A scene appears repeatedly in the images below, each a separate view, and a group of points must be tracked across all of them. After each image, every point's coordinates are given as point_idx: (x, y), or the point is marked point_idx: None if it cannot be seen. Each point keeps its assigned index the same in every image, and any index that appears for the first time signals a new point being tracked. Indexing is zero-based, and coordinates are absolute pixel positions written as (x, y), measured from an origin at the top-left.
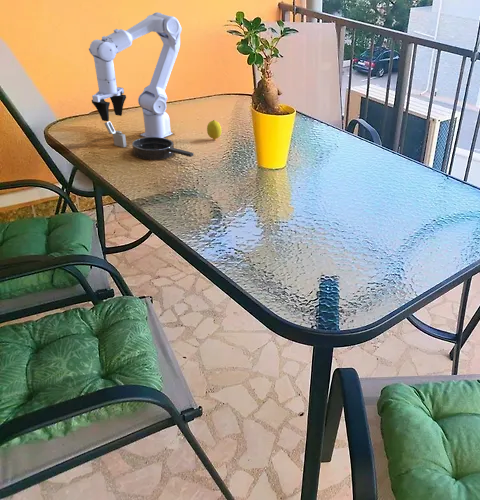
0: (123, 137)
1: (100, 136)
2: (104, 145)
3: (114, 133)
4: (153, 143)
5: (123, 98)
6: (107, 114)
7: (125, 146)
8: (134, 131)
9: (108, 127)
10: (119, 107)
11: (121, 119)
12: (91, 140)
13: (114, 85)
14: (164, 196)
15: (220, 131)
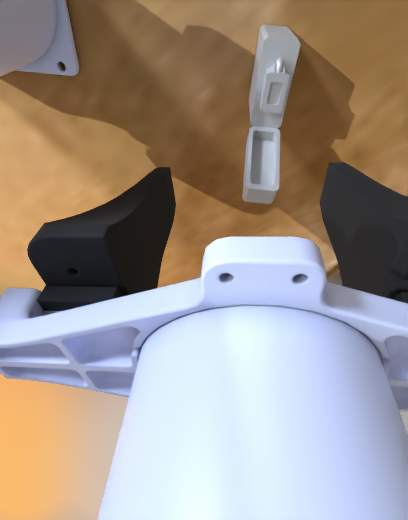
0: (286, 35)
1: (204, 215)
2: (298, 139)
3: (274, 118)
4: None
5: (98, 224)
6: (368, 182)
7: (273, 25)
8: (57, 144)
9: (278, 166)
10: (154, 206)
11: (15, 256)
12: (262, 215)
13: (286, 479)
14: None
15: None
